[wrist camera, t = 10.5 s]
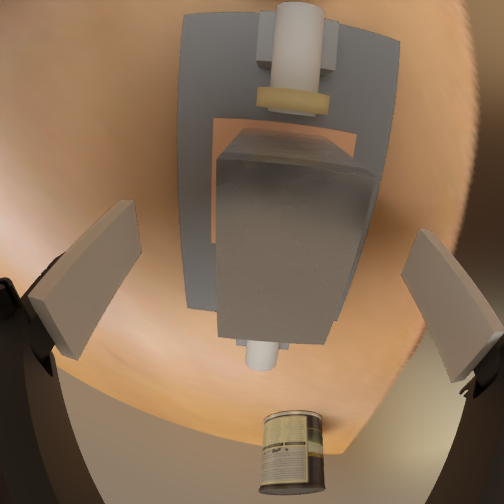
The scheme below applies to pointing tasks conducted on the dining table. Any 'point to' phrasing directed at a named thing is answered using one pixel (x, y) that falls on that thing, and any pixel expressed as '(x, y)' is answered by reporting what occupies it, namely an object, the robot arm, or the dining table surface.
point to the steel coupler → (285, 234)
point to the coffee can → (292, 454)
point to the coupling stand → (273, 114)
